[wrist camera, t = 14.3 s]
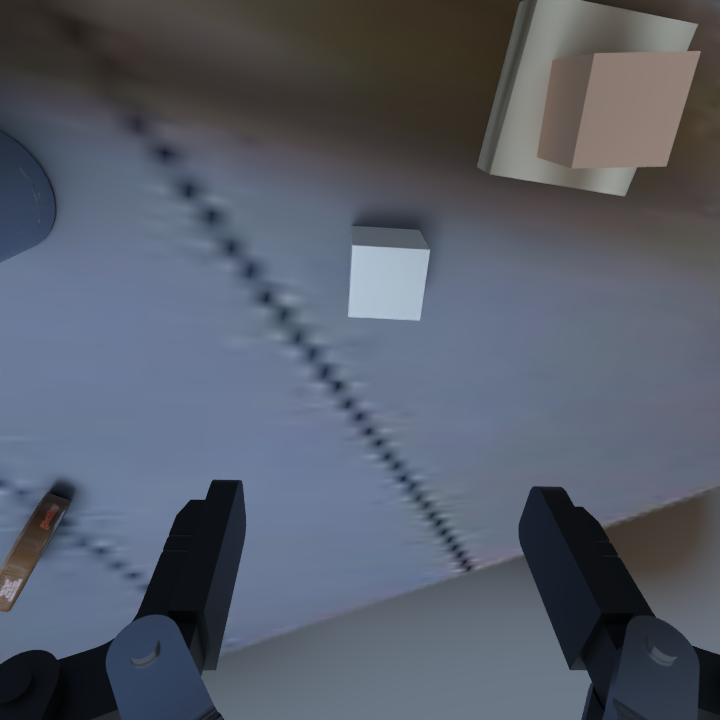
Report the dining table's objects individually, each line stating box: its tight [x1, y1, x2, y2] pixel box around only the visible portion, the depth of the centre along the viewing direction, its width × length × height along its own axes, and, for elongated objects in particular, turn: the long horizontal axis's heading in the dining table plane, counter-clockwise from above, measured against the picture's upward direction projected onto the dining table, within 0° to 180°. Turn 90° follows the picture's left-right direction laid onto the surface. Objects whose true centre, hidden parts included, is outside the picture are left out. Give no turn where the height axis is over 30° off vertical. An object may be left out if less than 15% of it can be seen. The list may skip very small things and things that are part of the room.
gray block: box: [477, 0, 698, 196], centre depth 31 cm, size 10×10×4 cm
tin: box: [0, 492, 70, 612], centre depth 49 cm, size 15×3×8 cm, turn 144°
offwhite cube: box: [348, 226, 430, 320], centre depth 36 cm, size 6×6×6 cm
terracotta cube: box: [537, 51, 701, 169], centre depth 27 cm, size 6×6×6 cm
